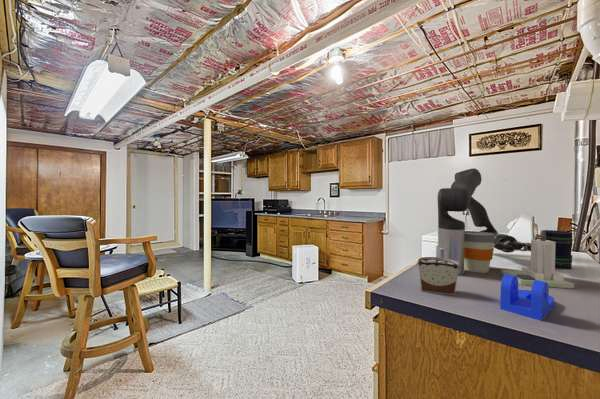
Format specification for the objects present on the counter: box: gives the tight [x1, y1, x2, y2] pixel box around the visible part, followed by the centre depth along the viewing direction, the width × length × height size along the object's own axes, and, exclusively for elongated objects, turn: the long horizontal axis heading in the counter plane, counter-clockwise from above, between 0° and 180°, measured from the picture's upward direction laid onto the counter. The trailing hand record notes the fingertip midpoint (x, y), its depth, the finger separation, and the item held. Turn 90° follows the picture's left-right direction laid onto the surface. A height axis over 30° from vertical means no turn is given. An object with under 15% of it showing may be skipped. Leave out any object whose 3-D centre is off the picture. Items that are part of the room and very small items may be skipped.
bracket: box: [499, 274, 555, 322], centre depth 73 cm, size 18×8×9 cm, turn 127°
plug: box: [530, 230, 556, 280], centre depth 93 cm, size 5×5×16 cm
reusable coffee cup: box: [464, 230, 495, 274], centre depth 108 cm, size 13×13×15 cm
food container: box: [416, 256, 461, 296], centre depth 85 cm, size 12×6×10 cm, turn 71°
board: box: [500, 267, 575, 290], centre depth 94 cm, size 15×13×4 cm
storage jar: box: [540, 229, 574, 270], centre depth 113 cm, size 10×10×15 cm
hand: (524, 249), depth 104 cm, fingers open, 8 cm apart
